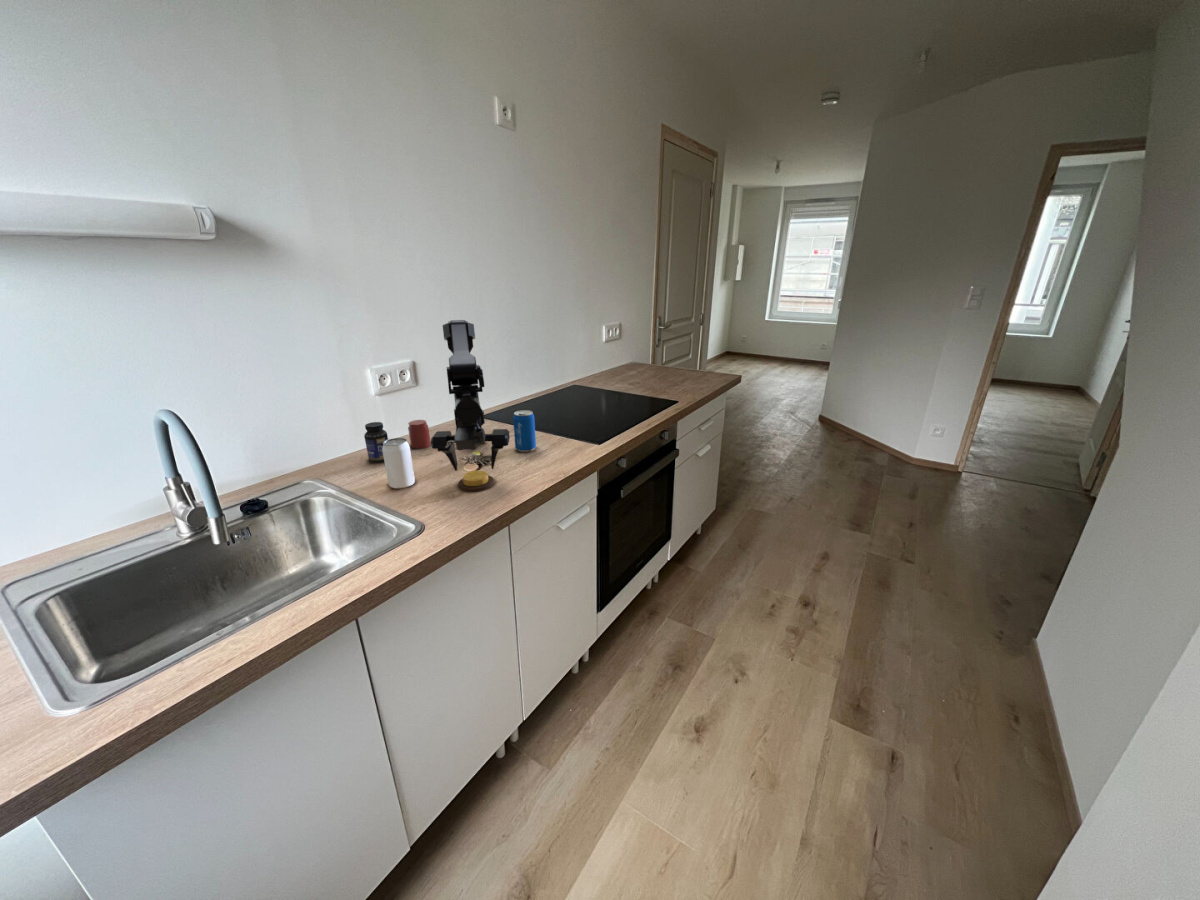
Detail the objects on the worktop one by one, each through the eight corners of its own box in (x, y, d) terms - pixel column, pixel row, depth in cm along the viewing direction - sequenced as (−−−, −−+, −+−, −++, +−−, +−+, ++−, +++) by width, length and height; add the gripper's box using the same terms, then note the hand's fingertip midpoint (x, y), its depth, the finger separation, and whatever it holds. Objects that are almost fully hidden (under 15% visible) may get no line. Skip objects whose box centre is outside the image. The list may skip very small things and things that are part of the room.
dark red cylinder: (428, 440, 150) (425, 418, 147) (432, 446, 145) (429, 423, 142) (409, 444, 147) (405, 421, 144) (413, 450, 142) (409, 426, 140)
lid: (467, 488, 115) (466, 482, 114) (460, 479, 120) (460, 473, 120) (491, 482, 118) (491, 477, 117) (484, 474, 123) (483, 468, 123)
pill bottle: (382, 463, 132) (376, 428, 128) (364, 462, 133) (357, 426, 129) (395, 456, 138) (389, 421, 134) (378, 454, 139) (371, 420, 135)
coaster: (487, 474, 125) (487, 471, 125) (498, 486, 118) (498, 483, 118) (454, 481, 121) (454, 478, 120) (464, 494, 114) (463, 491, 113)
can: (389, 491, 115) (380, 447, 111) (389, 481, 121) (381, 439, 117) (416, 486, 118) (408, 443, 113) (414, 477, 123) (408, 435, 119)
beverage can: (511, 451, 141) (508, 414, 137) (522, 444, 147) (519, 408, 142) (529, 454, 139) (527, 416, 135) (539, 447, 145) (537, 411, 140)
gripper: (421, 423, 104) (430, 484, 109) (503, 420, 105) (508, 480, 111) (432, 409, 114) (440, 466, 120) (507, 407, 116) (511, 463, 121)
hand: (474, 469), depth 118 cm, fingers open, 9 cm apart
